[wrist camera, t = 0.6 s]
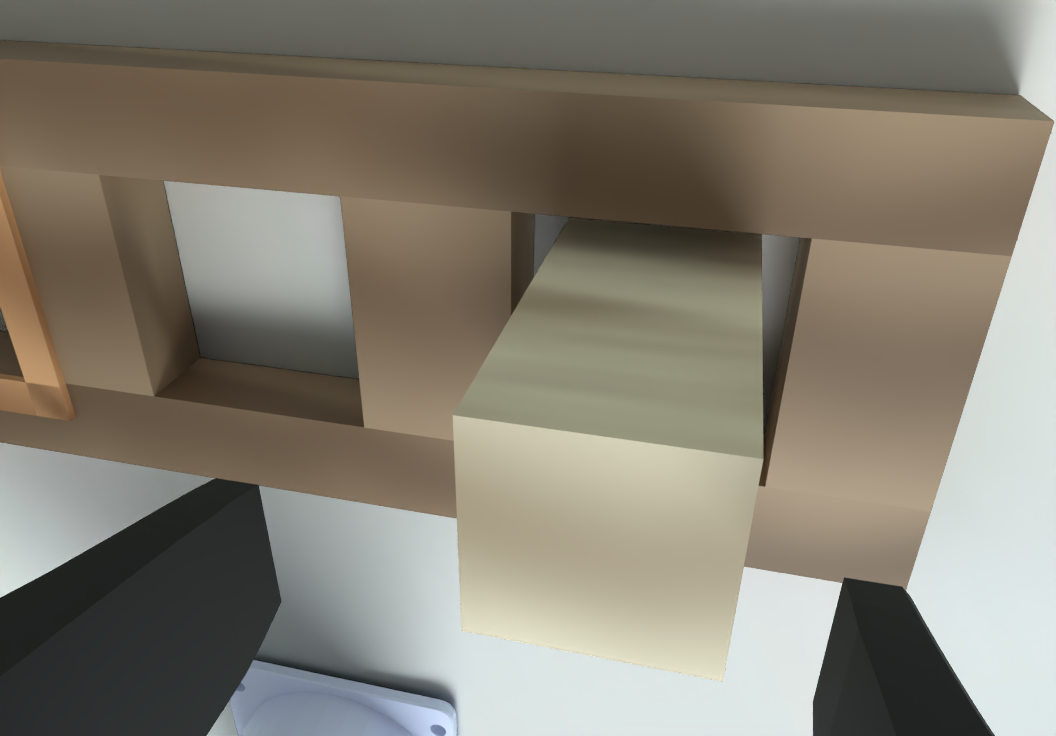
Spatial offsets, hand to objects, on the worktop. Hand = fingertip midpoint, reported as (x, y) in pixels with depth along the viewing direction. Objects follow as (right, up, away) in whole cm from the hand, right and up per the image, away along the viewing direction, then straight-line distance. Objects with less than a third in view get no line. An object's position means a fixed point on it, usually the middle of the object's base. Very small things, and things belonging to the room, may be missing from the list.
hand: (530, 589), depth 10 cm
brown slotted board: (-6, +5, +10) cm, 13 cm away
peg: (+3, +4, +8) cm, 9 cm away
